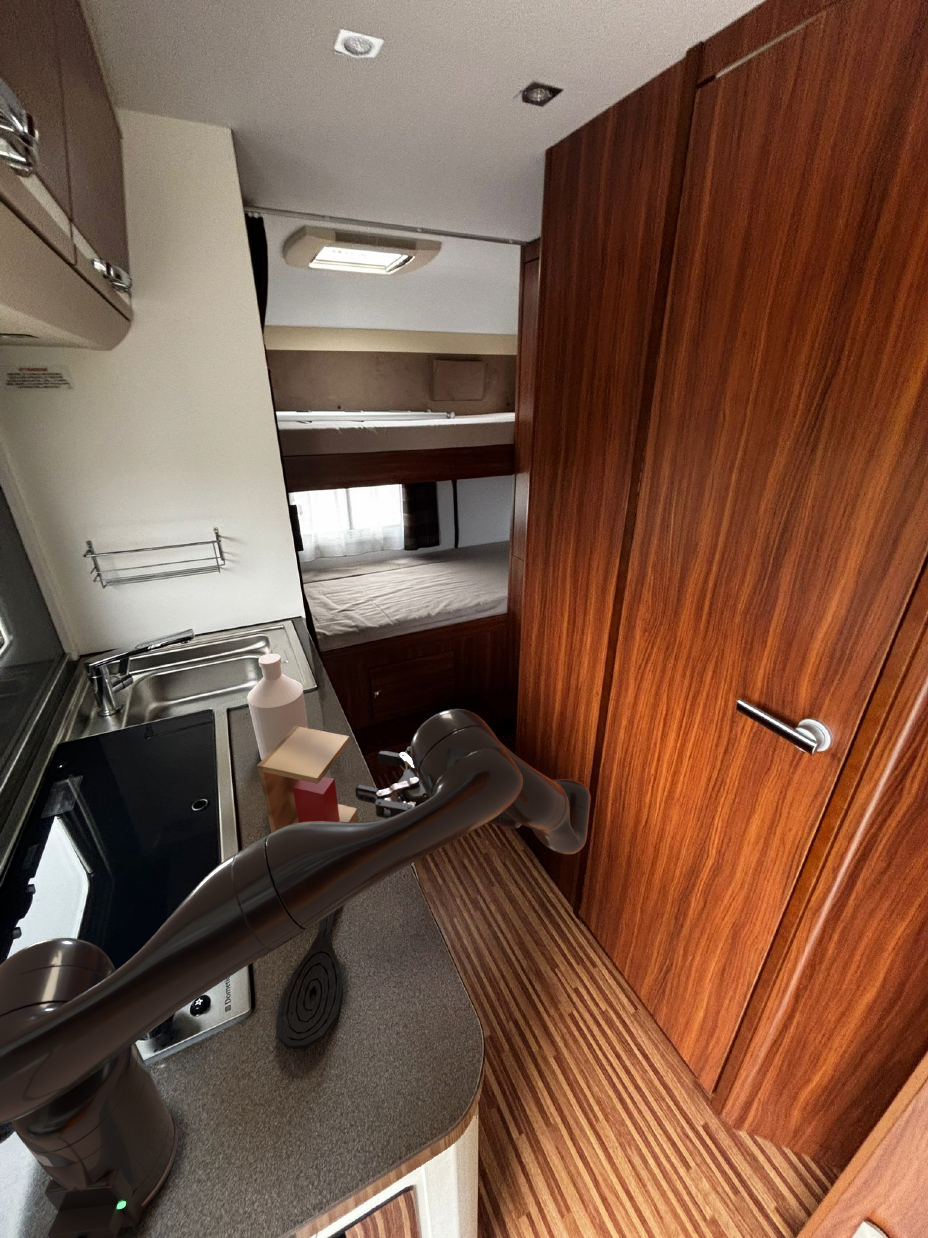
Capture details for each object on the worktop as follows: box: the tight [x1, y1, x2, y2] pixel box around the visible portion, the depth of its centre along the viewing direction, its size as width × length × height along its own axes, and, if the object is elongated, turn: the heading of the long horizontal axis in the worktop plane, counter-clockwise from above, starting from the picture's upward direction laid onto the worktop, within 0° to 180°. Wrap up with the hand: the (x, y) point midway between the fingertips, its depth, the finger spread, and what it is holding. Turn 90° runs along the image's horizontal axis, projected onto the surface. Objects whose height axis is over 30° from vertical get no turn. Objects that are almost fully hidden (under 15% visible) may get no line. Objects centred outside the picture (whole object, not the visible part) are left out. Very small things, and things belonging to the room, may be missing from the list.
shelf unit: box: [257, 726, 359, 833], centre depth 89 cm, size 11×11×22 cm
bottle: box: [246, 653, 309, 761], centre depth 112 cm, size 12×12×25 cm
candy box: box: [293, 775, 340, 823], centre depth 89 cm, size 4×6×10 cm, turn 75°
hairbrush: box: [276, 908, 344, 1051], centre depth 74 cm, size 8×4×25 cm
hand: (367, 773), depth 82 cm, fingers open, 8 cm apart
